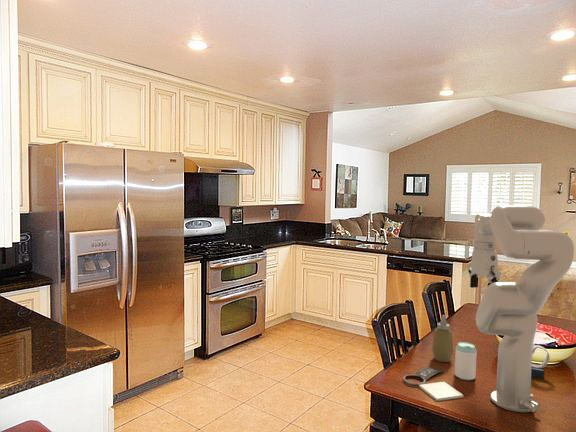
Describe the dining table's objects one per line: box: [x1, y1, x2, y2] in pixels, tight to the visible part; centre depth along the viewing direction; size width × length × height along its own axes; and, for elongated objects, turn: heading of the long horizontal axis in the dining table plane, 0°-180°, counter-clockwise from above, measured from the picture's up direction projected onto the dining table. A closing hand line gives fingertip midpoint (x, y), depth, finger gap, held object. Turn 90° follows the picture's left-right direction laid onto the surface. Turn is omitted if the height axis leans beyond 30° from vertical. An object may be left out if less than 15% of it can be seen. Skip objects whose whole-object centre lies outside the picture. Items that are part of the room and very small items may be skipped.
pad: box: [418, 381, 464, 402], centre depth 142 cm, size 10×10×1 cm
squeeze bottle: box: [431, 314, 454, 363], centre depth 169 cm, size 8×8×18 cm
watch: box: [531, 344, 551, 380], centre depth 156 cm, size 6×8×11 cm
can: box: [454, 341, 478, 381], centre depth 153 cm, size 7×7×12 cm
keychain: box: [402, 366, 444, 388], centre depth 153 cm, size 8×19×2 cm, turn 131°
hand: (482, 290), depth 162 cm, fingers open, 9 cm apart
